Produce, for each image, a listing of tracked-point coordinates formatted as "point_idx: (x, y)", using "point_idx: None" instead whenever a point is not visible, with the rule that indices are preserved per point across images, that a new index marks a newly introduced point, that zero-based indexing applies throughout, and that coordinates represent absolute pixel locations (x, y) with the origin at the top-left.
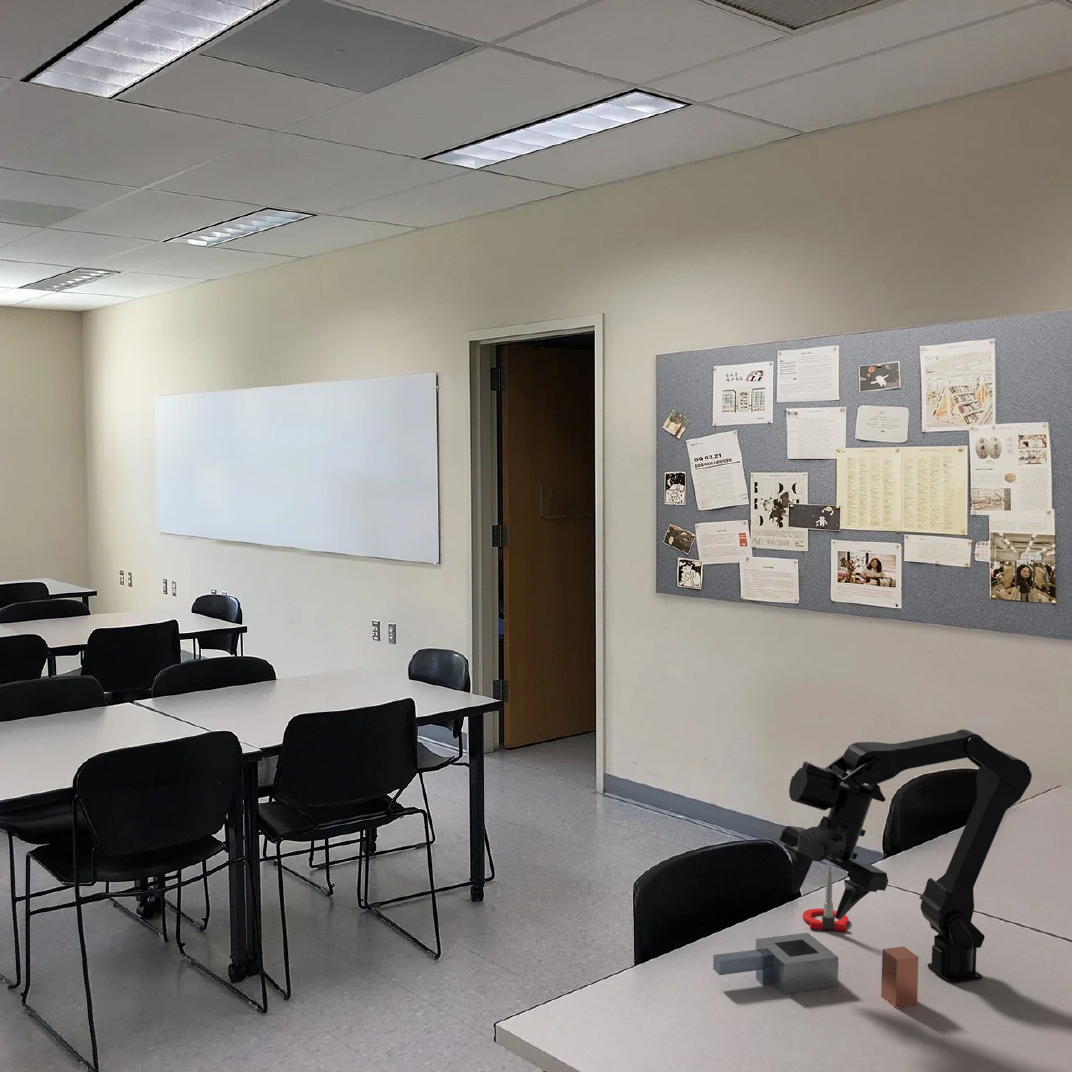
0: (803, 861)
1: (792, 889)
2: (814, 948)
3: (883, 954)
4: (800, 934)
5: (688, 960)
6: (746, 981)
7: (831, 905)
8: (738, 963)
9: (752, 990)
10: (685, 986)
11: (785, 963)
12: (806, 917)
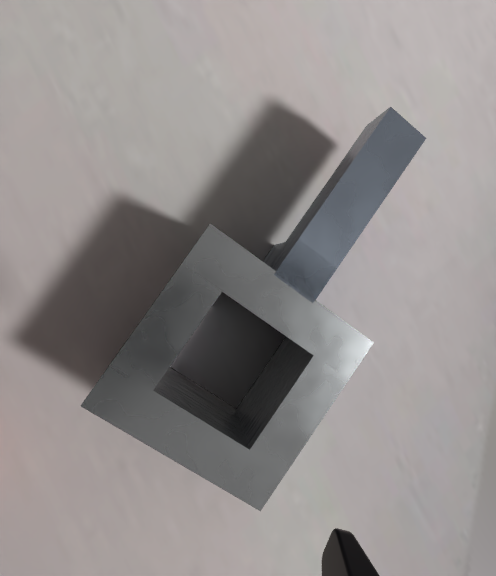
0: None
1: (357, 541)
2: (184, 412)
3: None
4: (273, 479)
5: (479, 248)
6: None
7: None
8: (344, 167)
9: (280, 199)
10: (421, 111)
11: (209, 230)
12: None
